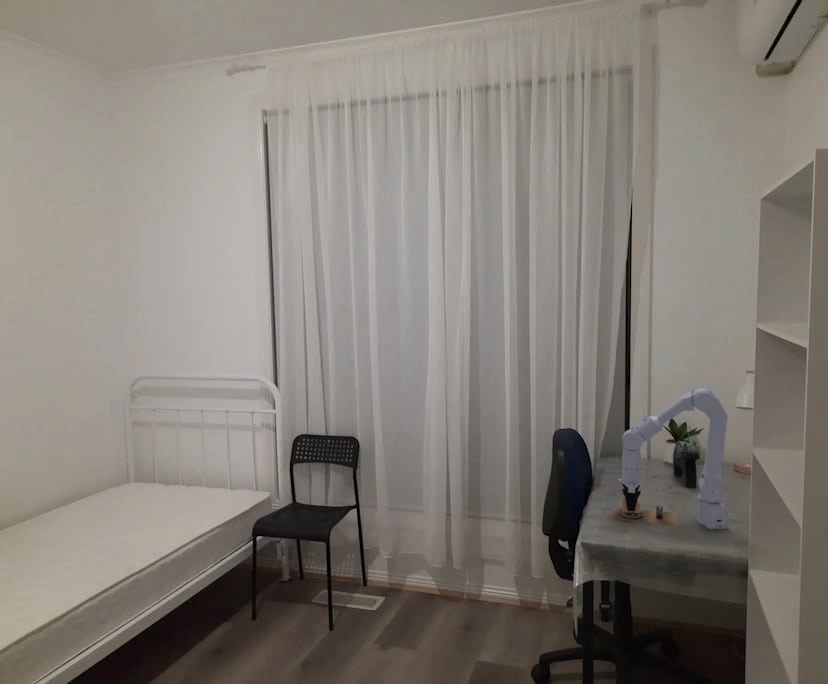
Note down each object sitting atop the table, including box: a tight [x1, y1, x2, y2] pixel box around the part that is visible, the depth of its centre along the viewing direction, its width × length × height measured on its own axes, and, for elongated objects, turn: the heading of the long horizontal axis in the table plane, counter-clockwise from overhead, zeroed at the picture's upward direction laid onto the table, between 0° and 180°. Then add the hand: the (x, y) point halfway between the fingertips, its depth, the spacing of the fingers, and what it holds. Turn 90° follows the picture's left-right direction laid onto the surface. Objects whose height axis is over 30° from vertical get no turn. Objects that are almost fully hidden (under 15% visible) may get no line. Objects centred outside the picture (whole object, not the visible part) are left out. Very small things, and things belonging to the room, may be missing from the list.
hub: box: [619, 509, 643, 519], centre depth 207 cm, size 8×8×3 cm
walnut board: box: [612, 507, 680, 527], centre depth 206 cm, size 20×12×2 cm, turn 72°
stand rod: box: [655, 505, 664, 519], centre depth 204 cm, size 2×2×4 cm
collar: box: [622, 496, 641, 513], centre depth 207 cm, size 5×5×3 cm
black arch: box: [672, 432, 701, 489], centre depth 246 cm, size 20×6×20 cm, turn 173°
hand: (631, 507), depth 207 cm, fingers closed on collar, 5 cm apart
